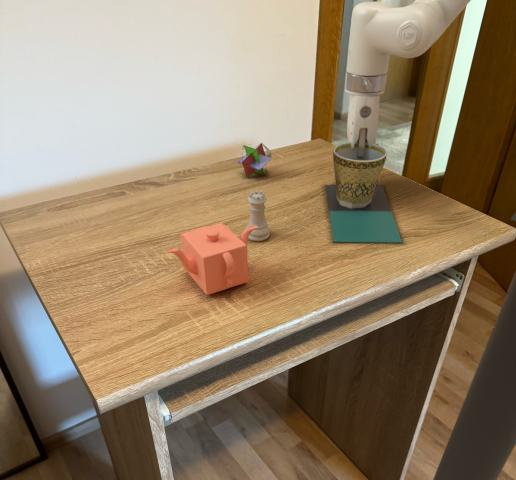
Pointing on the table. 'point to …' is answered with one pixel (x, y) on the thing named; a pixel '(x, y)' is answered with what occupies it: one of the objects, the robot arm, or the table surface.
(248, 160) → the geometric puzzle
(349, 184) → the ceramic cup
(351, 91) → the robot arm
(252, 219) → the rook chess piece
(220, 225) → the teapot
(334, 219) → the plate
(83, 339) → the table surface
